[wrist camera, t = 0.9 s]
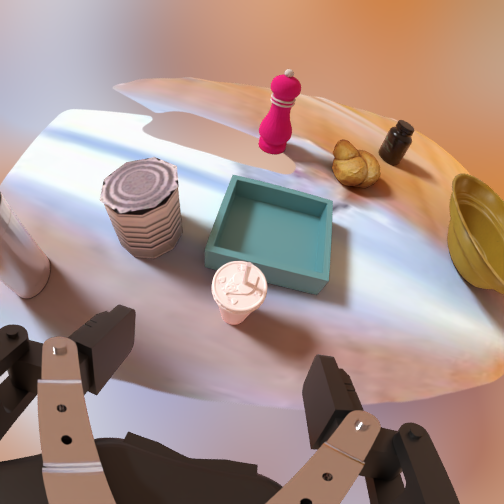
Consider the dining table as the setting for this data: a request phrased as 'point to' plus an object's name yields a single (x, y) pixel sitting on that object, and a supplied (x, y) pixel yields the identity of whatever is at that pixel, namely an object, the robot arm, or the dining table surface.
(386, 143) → the supplement bottle
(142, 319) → the dining table surface
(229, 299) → the smoothie
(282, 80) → the pepper mill
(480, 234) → the planter bowl
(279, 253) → the tote
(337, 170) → the bread roll
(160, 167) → the can
